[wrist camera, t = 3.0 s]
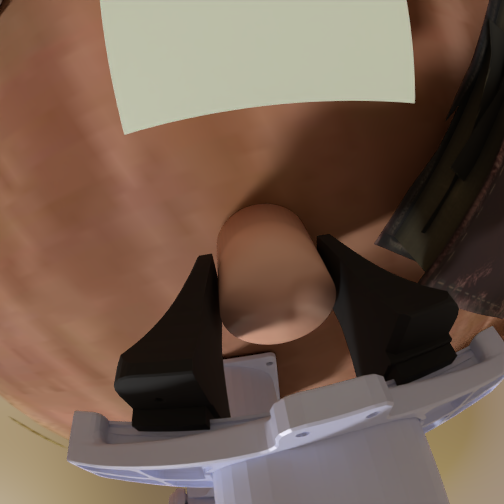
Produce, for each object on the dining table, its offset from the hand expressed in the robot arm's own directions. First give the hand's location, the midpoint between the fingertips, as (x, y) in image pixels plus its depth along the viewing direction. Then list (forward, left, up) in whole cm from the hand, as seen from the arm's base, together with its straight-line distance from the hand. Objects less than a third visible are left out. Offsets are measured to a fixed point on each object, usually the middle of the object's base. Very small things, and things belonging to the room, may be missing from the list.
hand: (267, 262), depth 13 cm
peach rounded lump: (0, 0, -2) cm, 2 cm away
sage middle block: (+11, 0, +2) cm, 11 cm away
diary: (+5, -20, -2) cm, 21 cm away
